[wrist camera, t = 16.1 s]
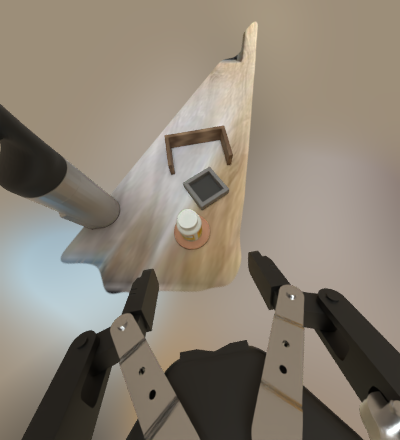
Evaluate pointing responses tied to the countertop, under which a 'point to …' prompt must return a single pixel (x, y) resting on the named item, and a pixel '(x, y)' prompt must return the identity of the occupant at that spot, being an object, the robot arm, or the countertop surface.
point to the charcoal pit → (206, 188)
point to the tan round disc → (197, 243)
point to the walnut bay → (195, 138)
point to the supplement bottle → (189, 225)
